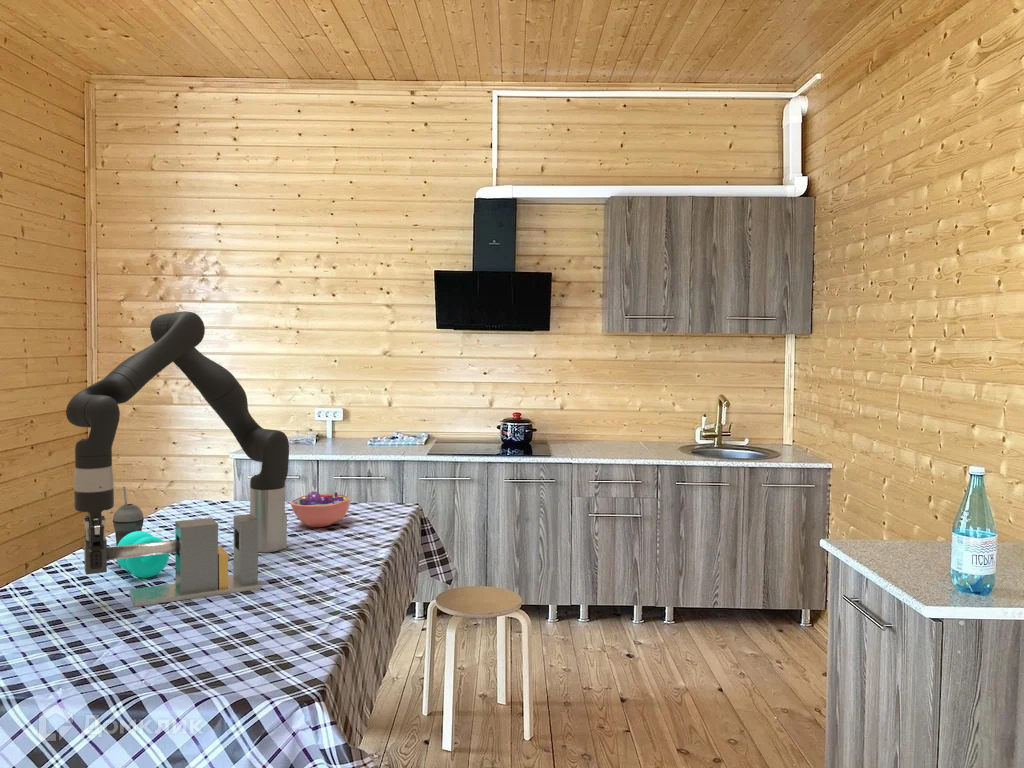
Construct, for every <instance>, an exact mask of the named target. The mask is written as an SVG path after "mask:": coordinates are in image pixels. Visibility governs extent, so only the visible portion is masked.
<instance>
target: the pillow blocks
mask: <svg viewBox="0 0 1024 768" xmlns="http://www.w3.org/2000/svg"><path fill="white" fill-rule="evenodd" d="M174 523H175V525H174V527H175V536H174V537H175V539H174V540H180V552H177V553H174V554H175V558H174V560H175V562H174V563H175V565H174V566H175V568H174V569H175V570H174V571H175V579H174V580H175V583H167V584H160V585H153V586H152V585H151V586H146V587H145V586H144V587H137V588H131V589H128V591H129V596H130V598H131V601H132V603H133V606H134V607H135V608H137V607H141V606H150V605H156V604H163V603H164V604H165V603H171V602H178V601H184V600H191V599H199V598H204V597H211V596H219V595H225V594H234V593H241V592H246V591H254V590H261V588H263V586H262V583H261V582H260V581H259V552H258V520H257V519H256V518H255V517H254V516H252V515H251V514H250V513H249V514H248V513H247V514H240V515H239V514H237V515H233V565H232V566H233V575H230V576H229V575H228V588H223V589H219V588H218V546H219V524H218V522H216V520H214V518H213V517H209V518H208V517H207V518H205V517H204V518H197V519H196V518H195V519H194V518H193V519H186V520H185V519H184V520H176V521H175V522H174Z"/></svg>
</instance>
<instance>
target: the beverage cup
mask: <svg viewBox="0 0 1024 768" xmlns="http://www.w3.org/2000/svg"><path fill="white" fill-rule="evenodd" d="M126 489H127V488H126V486H123V487H122V490H123V499H124V504H122V505H121V506H119V507H118V508H117V509H116V511H115V512H114V514H113V516H112V523H113V530H114V533H115V543H116V546H117V545H118V543H119V542H120V540H121V539H122V538H123V537H124V536H126V535H127V534H129V533H132V532H135V531H143V525H144V521H145V518H144V513H143V511H142V510H141V508H140V507H139V506H137V505H136V504H133V503H128V499H127V491H126ZM118 566H119V567H120V568H122V567H121V566H120V565H119V564H118Z"/></svg>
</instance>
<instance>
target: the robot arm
mask: <svg viewBox="0 0 1024 768" xmlns="http://www.w3.org/2000/svg"><path fill="white" fill-rule="evenodd" d="M149 326H150V328H149V330H150V336H151V338H152V340H153V343H152V344H150V345H149V346H147V347H145V348H143V349H142V350H140V351H138V352H137V353H134V354H132V355H131V356H130V357H128V358H126V359H125V360H123V361H122V362H121V363H119V364H118V365H116V367H114V369H112V370H111V371H110V372H109V373H108V374H107V375H106V376H105V377H104V378H103V379H100V380H98V381H97V382H94V383H92V384H91V385H89V386H87V387H85V388H83V389H82V390H81V391H78V393H76V394H75V395H74V396H73V397H72V398H71V399H70V400H69V402H68V404H67V406H66V410H65V414H66V415H65V416H66V418H67V421H68V422H69V423H70V424H71V425H74V426H76V427H81V428H90V432H89V434H88V437H87V438H83V439H80V440H78V441H77V442H76V444H75V448H74V455H75V456H74V461H75V462H74V463H75V466H74V467H75V469H74V477H73V481H74V482H73V483H74V484H73V489H74V494H73V495H74V510H75V511H77V512H80V513H87V514H85V517H83V525H84V536H85V538H87V541H89V551H90V568H91V569H100V568H102V551H103V548H104V546H103V543H104V538H105V537H106V533H105V531H106V529H105V526H106V523H107V521H106V517H105V515H102V512H104V511H108V510H111V509H113V508H114V506H115V498H114V497H115V494H114V493H115V492H114V490H115V489H114V488H115V486H114V479H115V478H114V470H113V451H112V450H113V445H114V441H115V437H116V434H117V430H118V425H119V422H120V417H121V411H120V407H119V405H120V404H125V403H127V402H128V401H130V400H131V399H132V398H133V397H135V395H136V394H137V393H138V392H139V391H141V389H143V387H144V386H145V385H147V383H149V382H150V381H151V380H152V379H154V377H155V376H156V375H158V374H159V373H160V372H162V371H163V370H164V369H166V367H168V366H169V365H170V364H172V363H173V364H174V365H176V367H178V369H179V370H180V371H181V372H182V373H183V374H184V375H185V377H186V378H187V379H188V380H189V381H190V382H191V384H192V385H193V386H194V387H195V388H196V389H197V391H198V392H199V393H200V394H201V396H202V397H203V398H204V400H205V401H206V403H207V404H208V405H209V406H210V408H211V409H213V411H214V412H215V413H216V414H217V415H218V417H219V418H220V419H221V421H223V423H224V424H225V425H226V427H227V428H228V429H229V430H230V432H231V433H232V435H233V436H234V438H235V439H236V442H237V443H238V444H239V446H240V448H241V449H242V451H243V452H244V454H245V455H246V456H247V457H248V458H249V459H250V460H252V461H255V462H257V463H261V469H260V470H261V471H260V472H259V473H258V474H255V475H253V476H251V477H250V481H249V483H250V484H249V487H250V488H249V495H250V496H249V514H251V515H252V516H254V517H255V518H256V519H257V520H258V553H268V552H269V553H273V552H277V551H281V550H286V549H288V548H287V546H288V538H287V537H288V536H287V535H288V515H287V514H286V513H285V511H286V505H285V504H286V497H285V496H286V480H287V478H288V474H289V458H290V443H289V438H288V436H287V435H286V434H285V432H283V431H282V430H277V429H268V428H264V427H261V425H259V423H257V421H256V420H255V419H254V417H253V416H252V415H251V413H250V411H249V407H248V406H249V404H248V397H247V394H246V391H245V390H244V388H243V387H242V385H241V384H240V382H239V381H238V380H237V379H236V377H235V376H234V375H233V373H231V371H229V370H228V369H227V368H226V367H223V366H222V365H221V364H219V363H217V362H215V361H214V360H213V359H210V358H209V357H207V356H205V355H204V354H203V353H201V352H200V351H199V350H198V349H197V348H196V347H197V346H199V344H200V343H201V342H203V339H204V337H205V333H206V329H205V327H206V326H205V323H204V321H203V320H202V318H201V317H200V316H199V314H197V313H195V312H193V311H188V310H187V311H186V310H184V311H175V312H167V313H163V314H160V315H157V316H155V317H154V318H153V319H152V321H150V325H149ZM97 541H100V545H93V542H97Z"/></svg>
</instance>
